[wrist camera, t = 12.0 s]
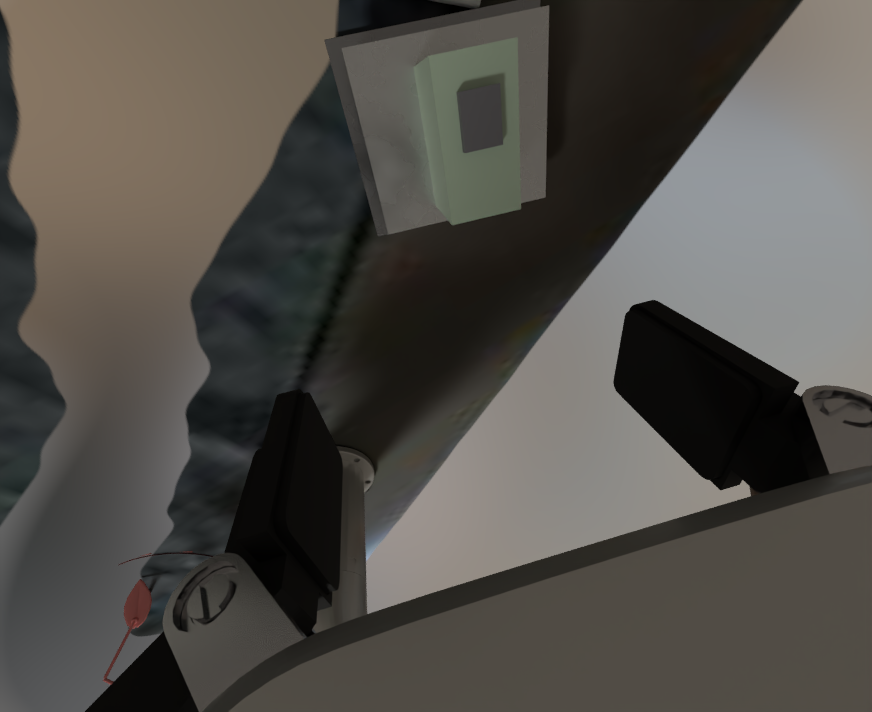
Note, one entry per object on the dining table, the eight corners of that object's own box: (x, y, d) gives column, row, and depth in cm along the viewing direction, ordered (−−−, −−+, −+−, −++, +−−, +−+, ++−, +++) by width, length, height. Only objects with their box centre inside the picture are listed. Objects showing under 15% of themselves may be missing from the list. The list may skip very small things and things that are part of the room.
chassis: (537, 197, 34) (556, 206, 31) (377, 235, 33) (380, 248, 30) (538, -4, 25) (564, -20, 22) (324, 40, 25) (320, 30, 21)
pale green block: (493, 192, 29) (524, 211, 24) (435, 206, 29) (454, 227, 23) (484, 52, 24) (521, 35, 18) (413, 67, 23) (430, 54, 18)
